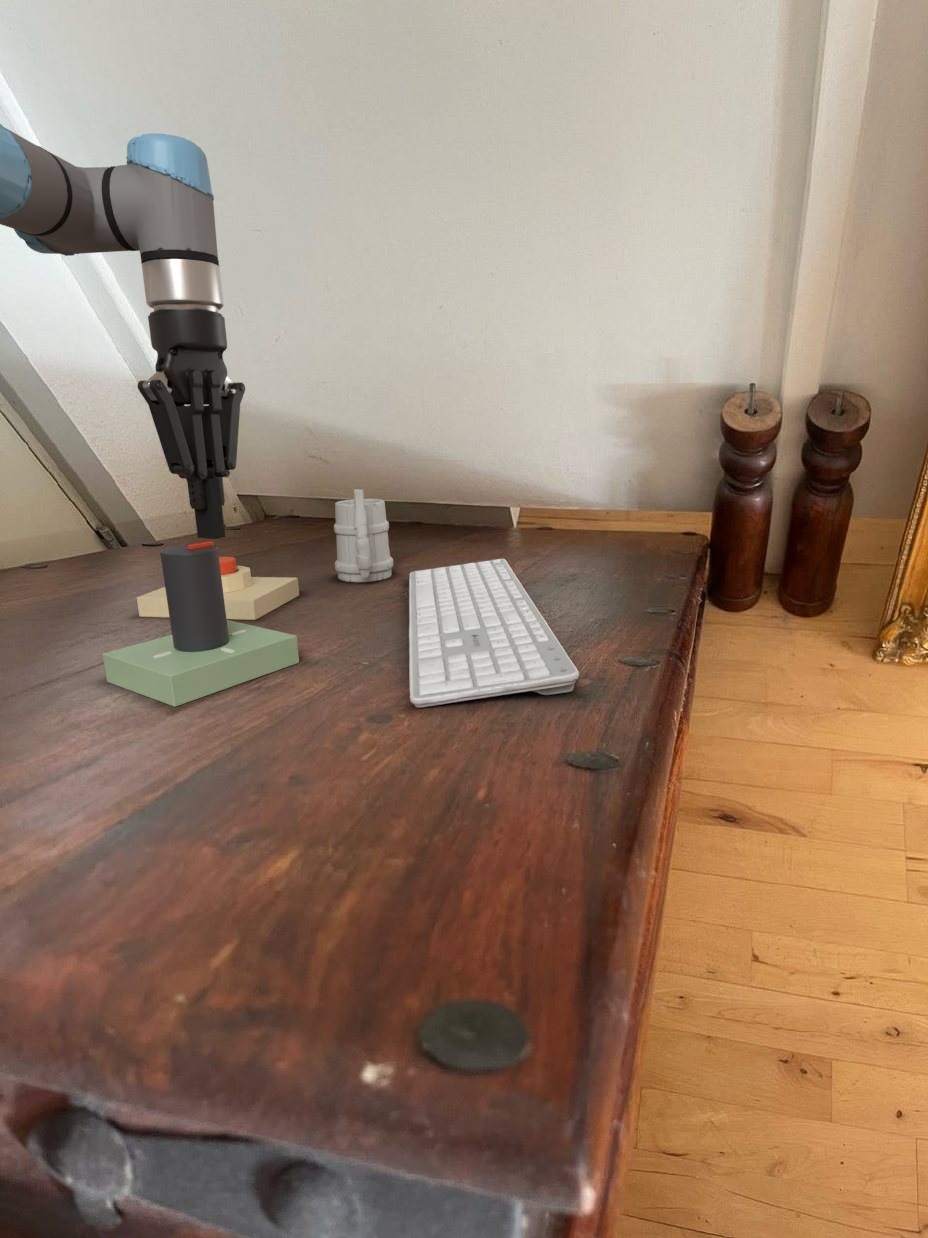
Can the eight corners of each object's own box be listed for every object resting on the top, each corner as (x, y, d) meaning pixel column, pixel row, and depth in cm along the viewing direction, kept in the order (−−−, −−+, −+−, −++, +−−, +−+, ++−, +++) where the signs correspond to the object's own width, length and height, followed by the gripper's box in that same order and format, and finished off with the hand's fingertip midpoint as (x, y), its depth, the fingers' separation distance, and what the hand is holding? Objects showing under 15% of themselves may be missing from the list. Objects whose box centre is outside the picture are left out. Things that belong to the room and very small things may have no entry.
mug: (392, 569, 102) (387, 480, 99) (397, 588, 91) (391, 489, 88) (336, 572, 102) (329, 483, 98) (334, 592, 90) (325, 492, 87)
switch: (193, 578, 83) (191, 563, 83) (212, 571, 87) (210, 556, 86) (225, 579, 82) (223, 563, 82) (243, 571, 86) (242, 556, 86)
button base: (139, 616, 82) (133, 581, 81) (194, 593, 92) (190, 561, 91) (255, 620, 79) (251, 583, 78) (299, 595, 89) (296, 562, 88)
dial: (193, 655, 59) (179, 552, 57) (163, 646, 62) (148, 547, 60) (239, 640, 63) (228, 543, 60) (209, 633, 65) (196, 539, 63)
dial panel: (106, 682, 61) (101, 651, 61) (230, 644, 71) (226, 617, 70) (174, 707, 55) (169, 673, 55) (299, 662, 65) (296, 633, 64)
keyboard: (409, 579, 96) (408, 561, 95) (505, 575, 96) (505, 557, 96) (409, 711, 53) (407, 680, 52) (581, 701, 54) (581, 670, 53)
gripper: (207, 319, 84) (229, 527, 91) (107, 307, 73) (140, 544, 80) (257, 314, 81) (276, 530, 87) (160, 300, 70) (190, 549, 76)
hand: (211, 537), depth 83 cm, fingers closed
